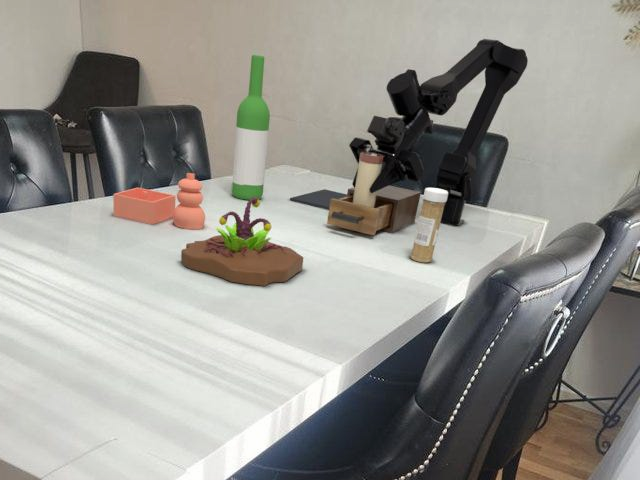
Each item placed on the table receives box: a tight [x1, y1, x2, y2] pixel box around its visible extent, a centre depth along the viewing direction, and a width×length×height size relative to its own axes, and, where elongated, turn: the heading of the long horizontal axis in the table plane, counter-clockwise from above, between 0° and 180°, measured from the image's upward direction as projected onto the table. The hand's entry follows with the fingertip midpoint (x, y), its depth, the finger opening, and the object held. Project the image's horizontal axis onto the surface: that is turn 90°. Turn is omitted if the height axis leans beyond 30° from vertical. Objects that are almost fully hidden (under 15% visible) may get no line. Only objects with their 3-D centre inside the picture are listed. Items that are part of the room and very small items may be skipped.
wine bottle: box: [231, 54, 271, 201], centre depth 154 cm, size 8×8×30 cm
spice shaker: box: [352, 152, 384, 208], centre depth 142 cm, size 5×5×12 cm
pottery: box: [112, 172, 206, 230], centre depth 132 cm, size 18×10×10 cm, turn 70°
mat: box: [289, 188, 347, 211], centre depth 169 cm, size 20×20×1 cm
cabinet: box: [346, 185, 422, 234], centre depth 155 cm, size 16×13×7 cm
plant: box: [180, 197, 304, 287], centre depth 112 cm, size 20×20×11 cm
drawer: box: [326, 195, 394, 236], centre depth 145 cm, size 19×11×5 cm, turn 150°
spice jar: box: [410, 187, 448, 264], centre depth 128 cm, size 5×5×14 cm
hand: (361, 188), depth 142 cm, fingers closed on spice shaker, 5 cm apart
